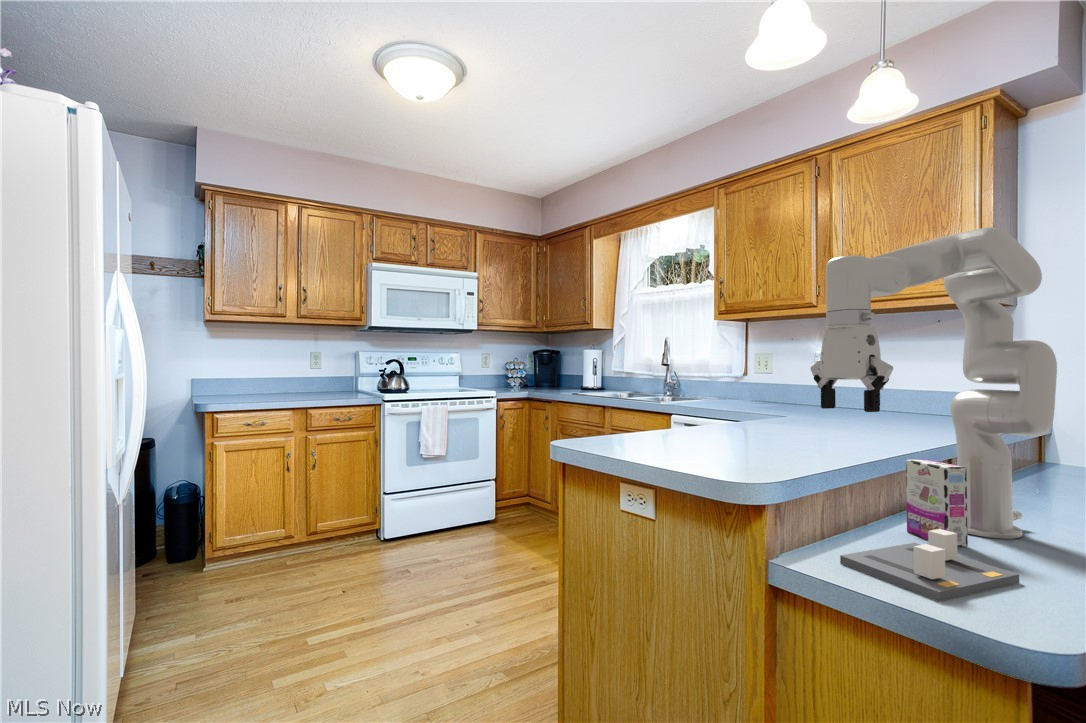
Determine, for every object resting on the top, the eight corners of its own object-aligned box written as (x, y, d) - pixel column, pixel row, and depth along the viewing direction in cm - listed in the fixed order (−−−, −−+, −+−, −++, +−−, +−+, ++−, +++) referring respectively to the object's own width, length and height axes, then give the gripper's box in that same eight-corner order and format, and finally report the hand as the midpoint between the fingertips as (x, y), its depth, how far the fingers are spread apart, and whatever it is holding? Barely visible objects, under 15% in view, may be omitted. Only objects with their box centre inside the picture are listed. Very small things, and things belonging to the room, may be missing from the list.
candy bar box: (969, 547, 110) (968, 467, 110) (947, 548, 110) (945, 467, 110) (926, 531, 121) (925, 458, 121) (905, 532, 121) (904, 458, 121)
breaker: (927, 570, 93) (926, 544, 93) (945, 576, 90) (944, 549, 90) (914, 572, 92) (913, 546, 92) (932, 579, 89) (931, 551, 89)
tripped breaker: (940, 553, 101) (940, 528, 101) (957, 558, 98) (957, 533, 98) (928, 555, 100) (928, 530, 100) (945, 560, 97) (945, 535, 97)
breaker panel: (914, 550, 109) (914, 542, 109) (1019, 583, 92) (1019, 573, 92) (840, 563, 102) (840, 554, 102) (939, 601, 85) (939, 591, 85)
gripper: (905, 317, 97) (906, 412, 97) (826, 325, 114) (826, 406, 113) (874, 316, 95) (875, 414, 94) (798, 324, 111) (798, 407, 111)
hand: (849, 409), depth 104 cm, fingers open, 9 cm apart
